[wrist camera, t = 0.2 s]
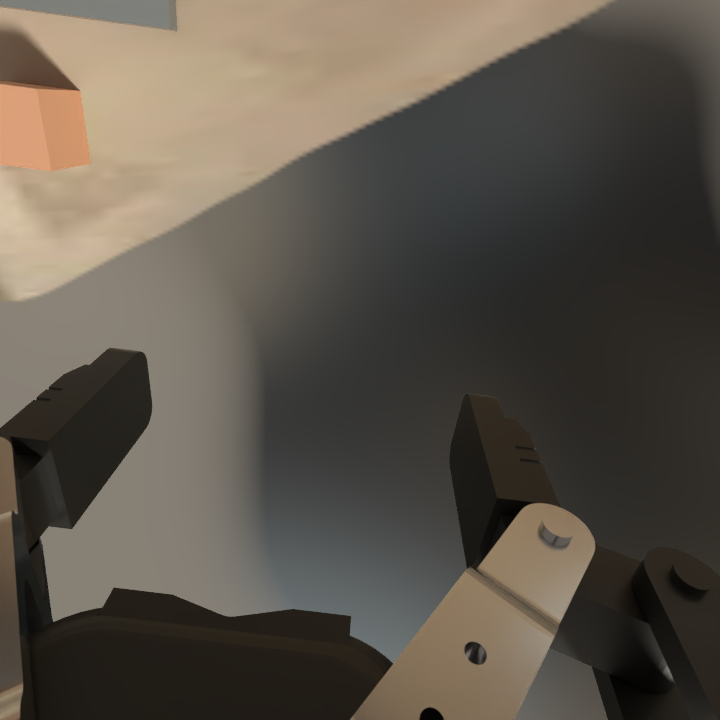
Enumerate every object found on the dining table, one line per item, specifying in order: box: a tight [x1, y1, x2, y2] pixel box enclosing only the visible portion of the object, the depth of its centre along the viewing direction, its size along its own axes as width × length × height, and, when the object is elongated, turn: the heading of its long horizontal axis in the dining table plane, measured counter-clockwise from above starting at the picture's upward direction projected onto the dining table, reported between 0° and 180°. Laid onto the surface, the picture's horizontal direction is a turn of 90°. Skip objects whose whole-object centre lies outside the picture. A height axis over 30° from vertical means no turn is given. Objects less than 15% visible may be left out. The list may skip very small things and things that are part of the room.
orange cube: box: [0, 81, 91, 171], centre depth 34 cm, size 5×5×5 cm
